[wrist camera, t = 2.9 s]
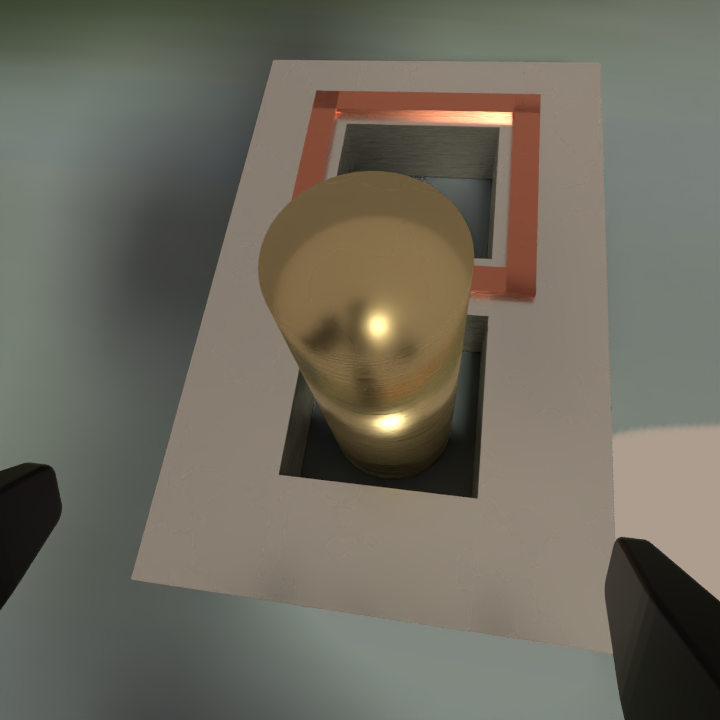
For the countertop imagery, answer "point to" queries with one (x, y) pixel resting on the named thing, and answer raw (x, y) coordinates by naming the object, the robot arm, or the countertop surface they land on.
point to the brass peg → (374, 311)
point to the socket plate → (482, 334)
